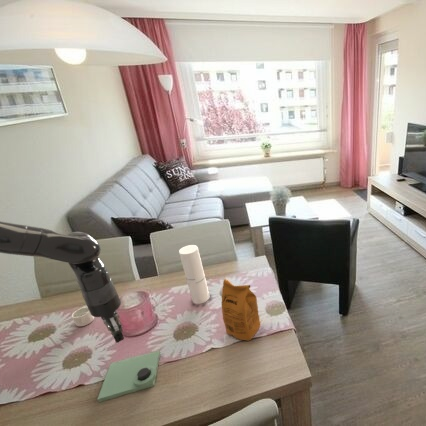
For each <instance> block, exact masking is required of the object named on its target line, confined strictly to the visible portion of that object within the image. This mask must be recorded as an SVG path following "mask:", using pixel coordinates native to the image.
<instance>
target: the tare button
mask: <svg viewBox="0 0 426 426" xmlns="http://www.w3.org/2000/svg"><path fill="white" fill-rule="evenodd" d="M137 376H138V378H139V380H141V381H143V380H145V379H147V378H148V377H149V376H150V371H149V369H148V368H143V369H141V370H140V371H139V372H138V374H137Z"/></svg>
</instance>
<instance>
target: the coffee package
mask: <svg viewBox="0 0 426 426" xmlns="http://www.w3.org/2000/svg"><path fill="white" fill-rule="evenodd" d="M222 283H223V284H222V292H221V313H222V321H223V323H224V328H225V332H226V334H227V335H229V336H233V338H235V339H237V340H240V341H247V342H249V341H251V340H252V339H253V338H254V336H255V335H256V334H257V332H258V331H259V329H260V327H261V321H260V315H259V306H258V305H259V304H258V300H257V298H258V297H257V295H256V294H255V293H254V292H253V291H252V290H251V289H250V288H251V284H242V285H234V284H233V283H232V282H231V281H230V280H229V279H226V278H225V279H223V282H222Z"/></svg>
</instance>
